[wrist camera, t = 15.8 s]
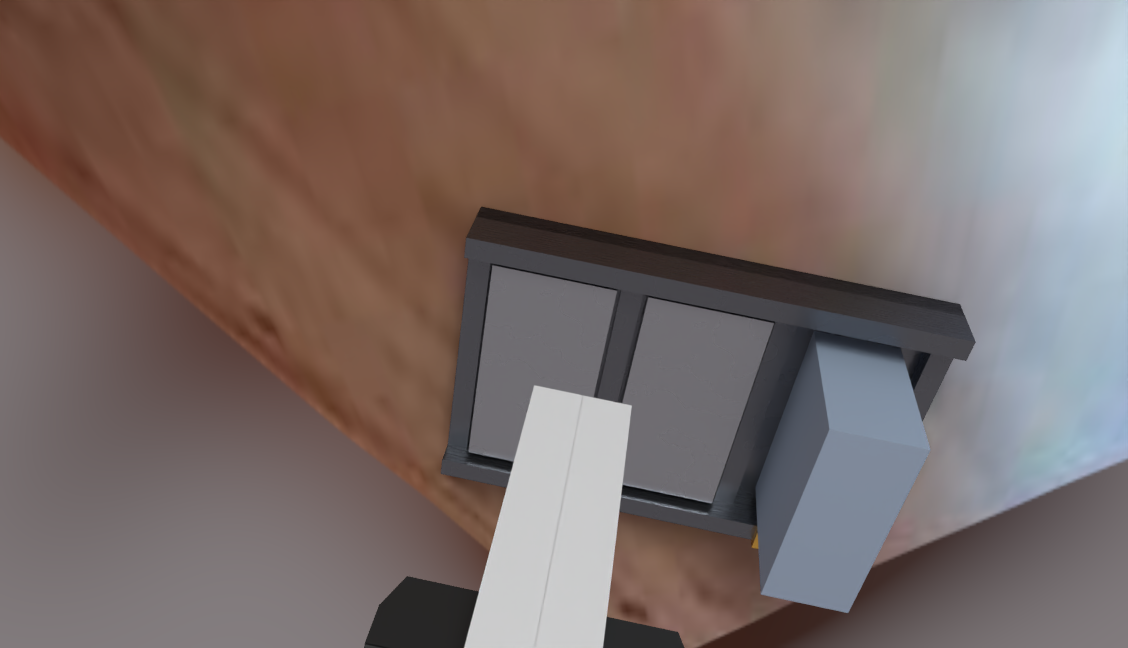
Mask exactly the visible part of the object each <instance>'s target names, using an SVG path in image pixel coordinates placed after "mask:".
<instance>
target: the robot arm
mask: <svg viewBox="0 0 1128 648" xmlns="http://www.w3.org/2000/svg"><path fill="white" fill-rule="evenodd" d="M631 408H632V405H627V404H622V403H617V402H612V401H608V400H603V399H598V398H593V397H588V396H584V395H579V394H574V393H569V392H564V391H560V390H555V389H550V388H545V387H540V386H536V385H534V388H533V392H532V396H531V399H530V403H529V407H528V411H527V414H526V418H525V422H524V426H523V429H522V433H521V437H520V441H519V444H518V448H517V452H516V456H515V459H514V463H513V467H512V471H511V474H510V478H509V482H508V486H507V489H506V493H505V497H504V500H503V504H502V508H501V512H500V515H499V519H498V523H497V527H496V530H495V534H494V538H493V542H492V545H491V549H490V553H489V557H488V561H487V564H486V568H485V572H484V576H483V579H482V583H481V586H480V591H479V592H478V591H473V590H469V589H464V588H459V587H454V586H450V585H445V584H441V583H436V582H431V581H427V580H422V579H417V578H413V577H408V576H407V577H406V578H405V579H404V580H403V581H402V582H401V583H400V584H399V585H398V586H397V587H396V588H395V590H393V591H392V592H391V594H390V595H389V596H388V597H387V598H386V599H385V600H384V601H383V602H382V603H381V604H380V605H379V607H378V610H377V612H376V615H375V618H374V621H373V623H372V626H371V628H370V631H369V634H368V636H367V639H366V642H365V646H364V648H684V646H683V643H682V641H681V638H680V636H679V633H678V632H675V631H670V630H665V629H661V628H656V627H651V626H647V625H642V624H637V623H633V622H628V621H623V620H619V619H614V618H609V617H607V609H608V601H609V593H610V584H611V576H612V567H613V559H614V551H615V542H616V534H617V525H618V517H619V509H620V500H621V492H622V484H623V475H624V467H625V458H626V450H627V442H628V433H629V425H630V416H631Z"/></svg>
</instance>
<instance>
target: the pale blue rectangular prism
mask: <svg viewBox="0 0 1128 648" xmlns="http://www.w3.org/2000/svg"><path fill="white" fill-rule="evenodd" d="M929 452H930V447H929V443H928V440H927V436H926V433H925V429H924V426H923V423H922V419H921V416H920V412H919V409H918V405H917V402H916V399H915V395H914V392H913V388H912V385H911V381H910V378H909V375H908V371H907V368H906V364H905V361H904V357H903V354H902V351H901V348H896V347H891V346H887V345H882V344H877V343H872V342H867V341H862V340H857V339H852V338H847V337H842V336H837V335H832V334H827V333H822V332H818V331H814V332H813V335H812V337H811V340H810V343H809V345H808V348H807V351H806V353H805V356H804V359H803V361H802V364H801V367H800V369H799V372H798V375H797V377H796V380H795V383H794V385H793V388H792V391H791V393H790V396H789V399H788V402H787V404H786V407H785V410H784V412H783V415H782V418H781V420H780V423H779V426H778V428H777V431H776V434H775V436H774V439H773V442H772V444H771V447H770V450H769V452H768V455H767V458H766V460H765V463H764V466H763V469H762V471H761V474H760V477H759V479H758V482H757V485H756V487H755V489H756V509H757V528H758V548H759V567H760V587H761V595H766V596H771V597H775V598H780V599H785V600H789V601H794V602H799V603H804V604H808V605H813V606H818V607H823V608H827V609H832V610H837V611H842V612H847V613H848V612H849V610H850V608H851V606H852V604H853V602H854V600H855V598H856V596H857V594H858V592H859V590H860V588H861V586H862V584H863V582H864V580H865V578H866V576H867V574H868V572H869V570H870V569H871V567H872V565H873V563H874V561H875V559H876V557H877V555H878V553H879V551H880V549H881V547H882V545H883V543H884V541H885V539H886V537H887V535H888V533H889V531H890V529H891V527H892V525H893V523H894V521H895V519H896V517H897V515H898V513H899V511H900V509H901V507H902V505H903V503H904V501H905V499H906V497H907V495H908V493H909V491H910V489H911V488H912V486H913V484H914V482H915V480H916V478H917V476H918V474H919V472H920V470H921V468H922V466H923V464H924V462H925V460H926V458H927V456H928V454H929Z"/></svg>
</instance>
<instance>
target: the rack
mask: <svg viewBox="0 0 1128 648" xmlns="http://www.w3.org/2000/svg"><path fill="white" fill-rule="evenodd" d="M464 258H469V261H468V269H467V278H466V287H465V296H464V305H463V314H462V323H461V332H460V341H459V350H458V359H457V368H456V377H455V386H454V395H453V404H452V413H451V422H450V431H449V440H448V446H447V448H446V451H445V454H444V456H443V459H442V468H441V474H445V475H449V476H454V477H459V478H464V479H468V480H473V481H478V482H482V483H487V484H492V485H497V486H501V487H506V488H507V486H508V482H509V478H510V474H511V471H512V467H513V463H514V459H515V456H516V452H517V448H518V444H519V441H520V437H521V433H522V429H523V426H524V422H525V418H526V414H527V411H528V407H529V403H530V399H531V396H532V392H533V388H534V385H536V386H540V387H545V388H550V389H555V390H560V391H564V392H569V393H574V394H579V395H584V396H588V397H593V398H598V399H603V400H608V401H612V402H617V403H622V404H627V405H632V408H631V416H630V425H629V433H628V442H627V450H626V458H625V467H624V475H623V484H622V492H621V500H620V509H619V512H624V513H628V514H633V515H638V516H643V517H647V518H652V519H657V520H661V521H666V522H671V523H676V524H680V525H685V526H690V527H694V528H699V529H704V530H709V531H713V532H718V533H723V534H727V535H732V536H737V537H742V538H746V539H751V545H752V548H756V549H759V548H758V528H757V509H756V489H755V487H756V485H757V482H758V479H759V477H760V474H761V471H762V469H763V466H764V463H765V460H766V458H767V455H768V452H769V450H770V447H771V444H772V442H773V439H774V436H775V434H776V431H777V428H778V426H779V423H780V420H781V418H782V415H783V412H784V410H785V407H786V404H787V402H788V399H789V396H790V393H791V391H792V388H793V385H794V383H795V380H796V377H797V375H798V372H799V369H800V367H801V364H802V361H803V359H804V356H805V353H806V351H807V348H808V345H809V343H810V340H811V337H812V335H813V332H814V331H818V332H822V333H827V334H832V335H837V336H842V337H847V338H852V339H857V340H862V341H867V342H872V343H877V344H882V345H887V346H891V347H896V348H901V351H902V354H903V357H904V361H905V364H906V368H907V371H908V375H909V378H910V381H911V385H912V388H913V392H914V395H915V399H916V402H917V405H918V409H919V412H920V416H921V419H922V421H923V419H924V417H925V415H926V413H927V411H928V409H929V407H930V405H931V403H932V401H933V399H934V397H935V395H936V393H937V391H938V389H939V387H940V385H941V383H942V381H943V379H944V376H945V374H946V372H947V370H948V368H949V366H950V364H951V362H952V360H953V358H955V359H960V360H965V361H966V360H967V358H968V356H969V354H970V352H971V350H972V348H973V346H974V344H975V339H974V337H973V335H972V332H971V330H970V327H969V325H968V323H967V320H966V318H965V315H964V313H963V310H962V308H961V306H960V304H955V303H950V302H946V301H941V300H936V299H931V298H926V297H921V296H916V295H911V294H906V293H901V292H897V291H892V290H887V289H882V288H877V287H872V286H867V285H862V284H857V283H852V282H848V281H843V280H838V279H833V278H828V277H823V276H818V275H813V274H808V273H803V272H799V271H794V270H789V269H784V268H779V267H774V266H769V265H764V264H759V263H754V262H749V261H745V260H740V259H735V258H730V257H725V256H720V255H715V254H710V253H705V252H700V251H696V250H691V249H686V248H681V247H676V246H671V245H666V244H661V243H656V242H651V241H647V240H642V239H637V238H632V237H627V236H622V235H617V234H612V233H607V232H602V231H598V230H593V229H588V228H583V227H578V226H573V225H568V224H563V223H558V222H553V221H549V220H544V219H539V218H534V217H529V216H524V215H519V214H514V213H509V212H504V211H500V210H495V209H490V208H485V207H481V208H480V210H479V212H478V214H477V216H476V218H475V221H474V223H473V225H472V227H471V229H470V231H469V233H468V235H467V237H466V246H465V255H464Z"/></svg>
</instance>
